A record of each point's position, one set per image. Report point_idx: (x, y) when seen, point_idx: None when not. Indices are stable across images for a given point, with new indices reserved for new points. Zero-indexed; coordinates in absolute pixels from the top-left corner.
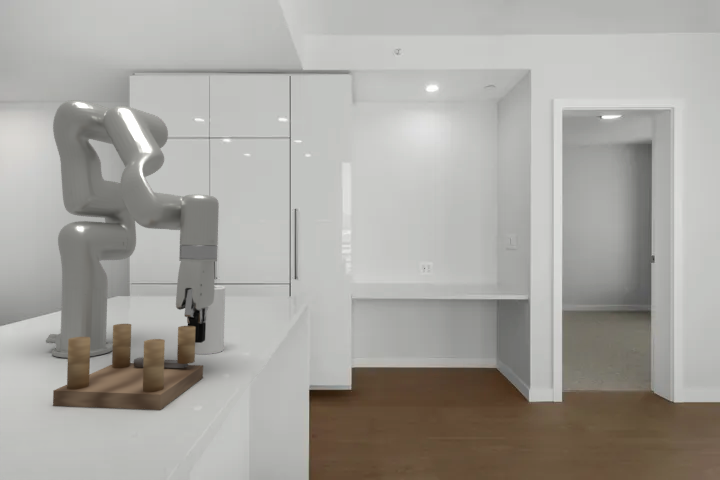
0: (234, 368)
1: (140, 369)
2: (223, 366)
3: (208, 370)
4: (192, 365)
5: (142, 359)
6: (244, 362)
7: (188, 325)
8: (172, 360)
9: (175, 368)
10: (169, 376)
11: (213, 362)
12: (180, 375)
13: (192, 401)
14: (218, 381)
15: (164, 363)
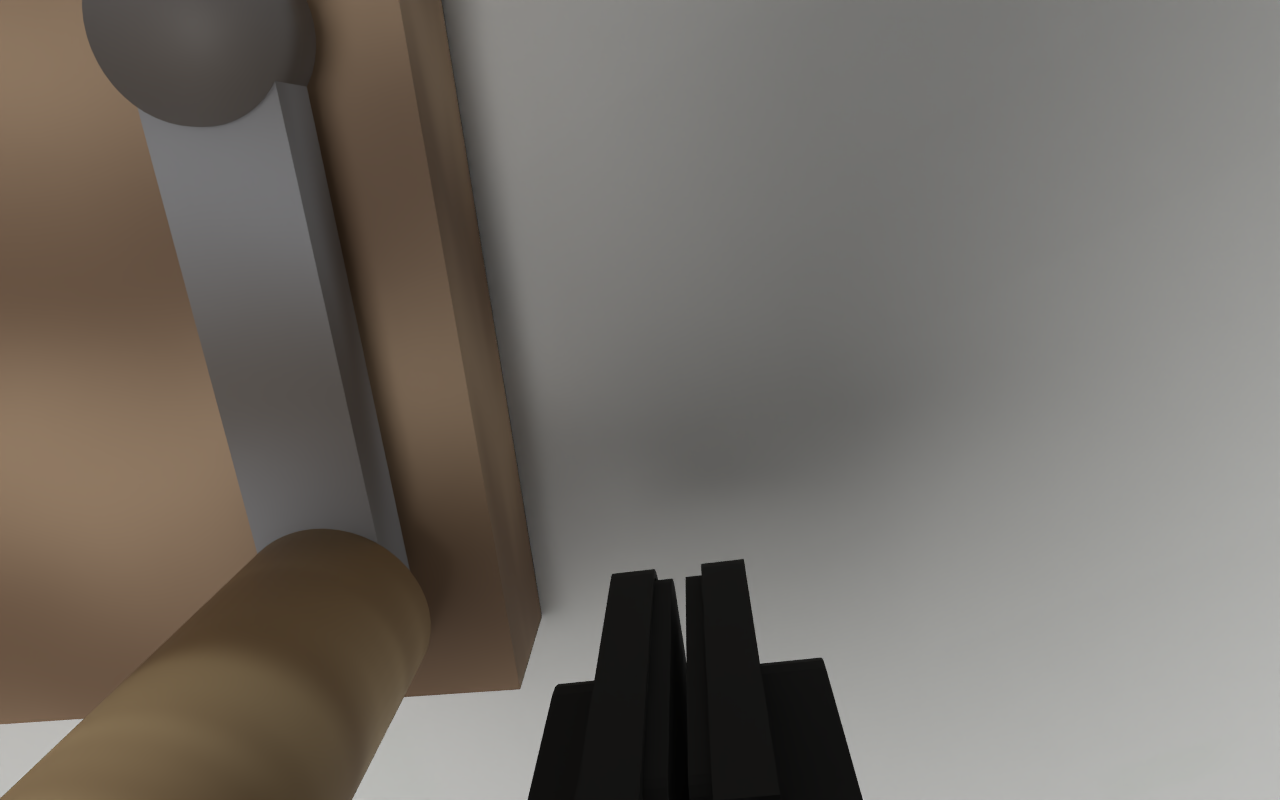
0: (912, 748)
1: (135, 115)
2: (971, 630)
3: (798, 556)
4: (486, 590)
5: (172, 54)
6: (1154, 759)
7: (579, 786)
8: (326, 446)
9: None
10: (54, 571)
11: (1128, 470)
12: (126, 648)
13: (8, 783)
14: (488, 768)
15: (223, 397)
